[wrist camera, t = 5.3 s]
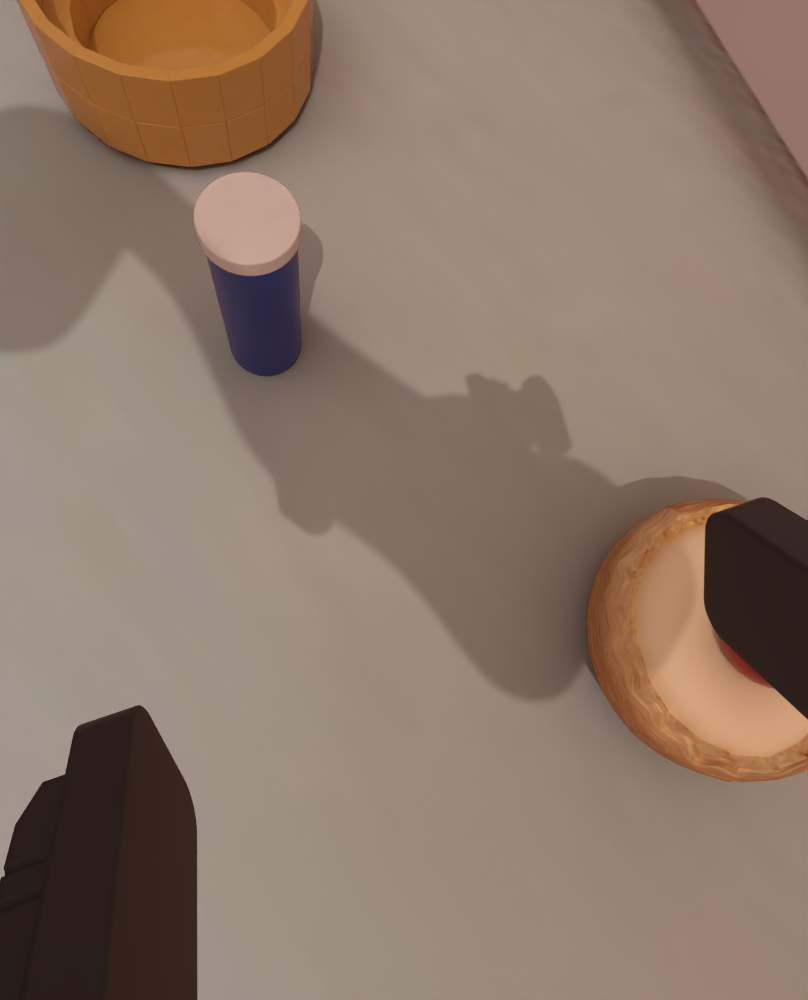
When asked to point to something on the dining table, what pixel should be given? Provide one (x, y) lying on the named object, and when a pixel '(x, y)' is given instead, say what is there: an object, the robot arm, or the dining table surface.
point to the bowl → (178, 72)
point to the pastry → (684, 658)
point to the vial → (254, 266)
